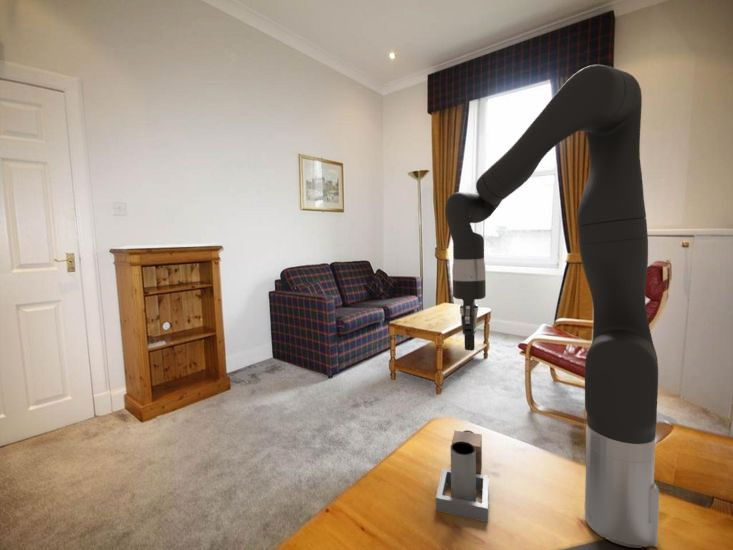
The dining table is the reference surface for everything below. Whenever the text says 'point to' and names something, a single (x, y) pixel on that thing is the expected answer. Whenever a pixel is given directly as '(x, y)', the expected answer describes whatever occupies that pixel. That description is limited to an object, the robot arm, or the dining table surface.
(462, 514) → the grey open frame
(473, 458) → the grey cylinder
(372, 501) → the dining table surface
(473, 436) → the guide block
